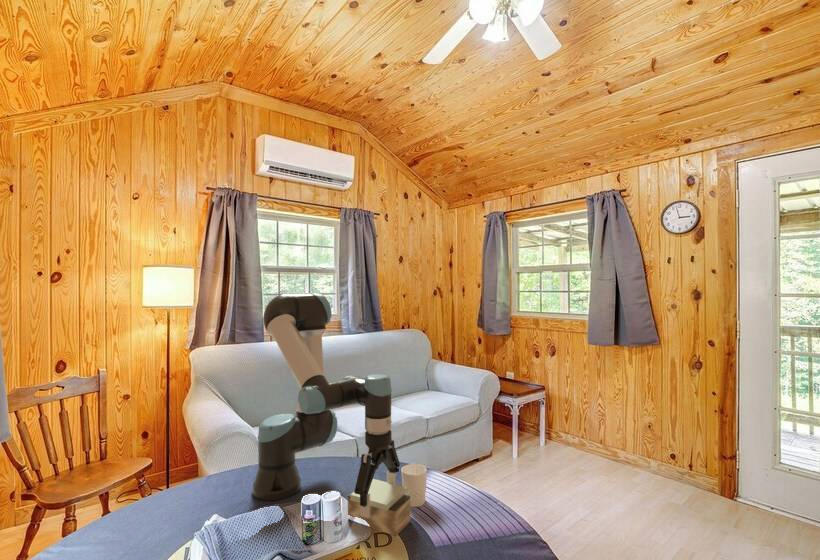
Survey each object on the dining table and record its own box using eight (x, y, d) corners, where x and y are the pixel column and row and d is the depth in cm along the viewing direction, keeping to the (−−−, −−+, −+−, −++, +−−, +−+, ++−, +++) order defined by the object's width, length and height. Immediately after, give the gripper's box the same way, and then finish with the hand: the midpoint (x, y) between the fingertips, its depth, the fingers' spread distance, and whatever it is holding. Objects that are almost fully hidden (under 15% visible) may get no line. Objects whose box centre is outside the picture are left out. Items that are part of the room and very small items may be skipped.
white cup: (427, 495, 132) (427, 464, 132) (426, 508, 124) (425, 475, 125) (403, 494, 133) (402, 463, 133) (400, 507, 125) (399, 474, 125)
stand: (347, 520, 119) (347, 495, 119) (363, 507, 126) (363, 484, 126) (396, 536, 111) (396, 509, 111) (410, 521, 118) (410, 496, 118)
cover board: (350, 499, 116) (350, 494, 116) (372, 483, 126) (371, 478, 126) (386, 510, 111) (386, 504, 111) (406, 492, 120) (406, 487, 120)
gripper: (364, 447, 106) (364, 531, 106) (410, 419, 128) (411, 488, 128) (340, 442, 110) (341, 523, 109) (389, 416, 131) (390, 483, 131)
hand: (378, 504), depth 118 cm, fingers open, 13 cm apart
